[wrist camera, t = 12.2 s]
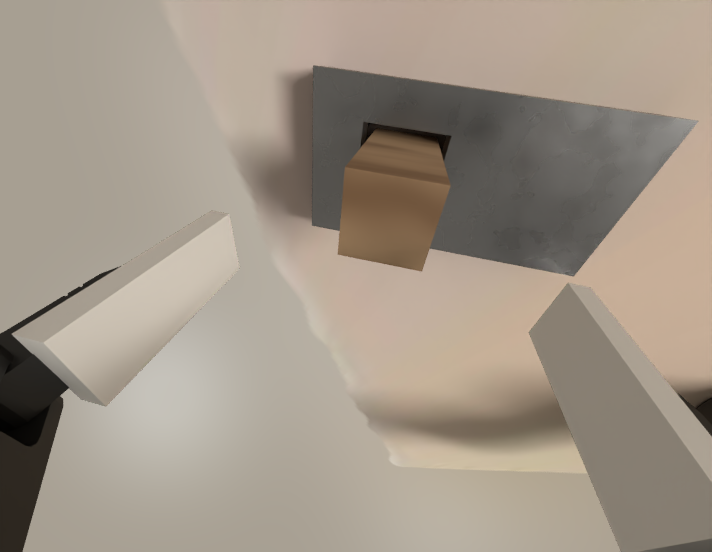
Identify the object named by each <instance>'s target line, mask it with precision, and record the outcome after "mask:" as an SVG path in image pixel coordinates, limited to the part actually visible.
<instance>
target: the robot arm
mask: <svg viewBox="0 0 712 552" xmlns="http://www.w3.org/2000/svg"><path fill="white" fill-rule="evenodd" d="M239 269H240V267H239V261H238V256H237V251H236V246H235V241H234V236H233V231H232V226H231V221H230V216H229V214H227V213H222V212H217V211H210V212H208V213H207V214H205V215H203V216H202V217H200V218H199V219H197V220H195V221H194V222H192V223H190V224H189V225H187V226H186V227H184V228H182V229H181V230H179V231H177V232H176V233H174V234H173V235H171V236H169V237H168V238H166V239H165V240H163V241H161V242H160V243H158V244H156V245H155V246H153V247H152V248H150V249H148V250H147V251H145V252H144V253H142V254H140V255H139V256H137V257H135V258H134V259H132V260H131V261H129V262H127V263H126V264H124V265H123V266H120V267H117V268H115V269H112V270H109V271H107V272H104V273H102V274H99V275H98V276H96V277H94V278H93V279H91V280H89V281H88V282H86V283H85V284H83V286H82V287H78V288H76V289H74V290H73V291H71V292H69V293H68V296H63V297H61V298H59V299H58V300H56V301H54V302H53V303H51V304H49V305H48V306H46V307H45V308H43V309H41V310H40V311H38V312H36V313H35V314H33V315H31V316H30V317H28V318H26V319H25V320H23V321H21V322H20V323H18V324H16V325H15V326H13V327H11V328H10V329H8V330H6V331H5V332H3V333H1V334H0V552H22V551H23V548H24V544H25V540H26V537H27V533H28V530H29V526H30V523H31V519H32V515H33V512H34V508H35V505H36V501H37V498H38V494H39V491H40V487H41V484H42V480H43V476H44V473H45V469H46V466H47V462H48V459H49V455H50V452H51V448H52V444H53V441H54V437H55V433H56V430H57V427H58V423H59V419H60V415H61V412H62V409H63V398H61V397H60V395H61V394H62V393H64V392H65V391H66V390H67V389H68V388H70V390H72V391H73V392H74V393H75V394H76V395H77V396H78V397H79V398H80V399H82V400H85V401H88V402H92V403H95V404H99V405H102V406H107V405H108V404H109V403H110V402H111V401H112V400H113V399H114V398H115V397H116V396H117V395H118V394H119V393H120V391H121V390H122V389H123V388H124V387H125V386H126V385H127V384H128V383H129V382H130V381H131V380H132V379H133V378H134V377H135V376H136V375H137V374H138V373H139V372H140V371H141V370H142V369H143V368H144V367H145V366H146V365H147V364H148V363H149V362H150V361H151V359H152V358H153V357H155V355H156V354H157V353H158V352H159V351H160V350H161V349H162V348H163V347H164V346H165V345H166V344H167V343H168V342H169V341H170V340H171V339H172V338H173V337H174V336H175V335H176V334H177V333H178V332H179V331H180V330H181V329H182V328H183V327H184V325H186V324H187V322H188V321H189V320H190V319H191V318H192V317H193V316H194V315H195V314H196V313H197V312H198V311H199V310H200V309H201V308H202V307H203V306H204V305H205V304H206V303H207V302H208V301H209V300H210V299H211V298H212V297H213V295H215V294H216V292H218V291H219V289H220V288H221V287H222V286H223V285H224V284H225V283H226V282H227V281H228V280H229V279H230V278H231V277H232V276H233V275H234V274H235V273H236V272H237V271H238V270H239ZM529 335H530V337H531V339H532V342H533V344H534V346H535V349H536V351H537V354H538V356H539V358H540V361H541V363H542V365H543V368H544V370H545V373H546V375H547V377H548V380H549V382H550V384H551V387H552V389H553V392H554V394H555V396H556V399H557V401H558V403H559V406H560V408H561V411H562V413H563V415H564V418H565V420H566V422H567V425H568V427H569V430H570V432H571V434H572V437H573V439H574V441H575V444H576V446H577V449H578V451H579V453H580V456H581V458H582V460H583V463H584V465H585V468H586V470H587V472H588V475H589V477H590V479H591V482H592V484H593V487H594V489H595V491H596V494H597V496H598V498H599V501H600V503H601V506H602V508H603V510H604V513H605V515H606V517H607V520H608V522H609V524H610V527H611V529H612V532H613V534H614V536H615V539H616V541H617V543H618V546H619V548H620V551H621V552H712V399H710V400H709V401H707V402H705V403H703V404H702V405H700V406H699V407H698V408H697V409H695V408H694V407H693V406H692V405H691V404H690V403H689V402H687V401H686V400H685V399H684V398H683V397H682V396H680V395H679V394H677V393H676V392H675V391H674V390H673V388H672V387H671V386H670V385H669V383H668V382H667V381H666V380H665V378H664V377H663V376H662V375H661V374H660V372H659V371H658V370H657V369H656V367H655V366H654V365H653V364H652V362H651V361H650V360H649V359H648V358H647V356H646V355H645V354H644V353H643V351H642V350H641V349H640V348H639V346H638V345H637V344H636V343H635V342H634V340H633V339H632V338H631V337H630V335H629V334H628V333H627V332H626V330H625V329H624V328H623V327H622V326H621V324H620V323H619V322H618V321H617V319H616V318H615V317H614V316H613V314H612V313H611V312H610V311H609V310H608V308H607V307H606V306H605V305H604V303H603V302H602V301H601V300H600V298H599V297H598V296H597V295H596V294H595V292H594V291H593V290H592V289H591V287H586V286H581V285H577V284H572V283H568V284H567V285H566V286H565V287H564V289H563V290H562V291H561V292H560V294H559V295H558V296H557V297H556V299H555V300H554V301H553V302H552V304H551V305H550V306H549V307H548V309H547V310H546V311H545V313H544V314H543V315H542V316H541V318H540V319H539V320H538V321H537V323H536V324H535V325H534V326H533V328H532V329H531V330H530V331H529Z"/></svg>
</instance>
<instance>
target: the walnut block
mask: <svg viewBox="0 0 712 552" xmlns="http://www.w3.org/2000/svg"><path fill="white" fill-rule="evenodd" d="M450 186H451V185H450V181H449V178H448V175H447V171H446V168H445V164H444V161H443V157H442V154H441V150H440V147H439V143H438V140H437V138H436V137H430V136H424V135H418V134H412V133H405V132H399V131H393V130H387V129H380V128H376V129H375V131H374V132H373V133H372V134H371V136H370V137H369V138H368V139H367V141H366V142H365V143H364V144H363V145H362V147H361V148H360V149H359V150H358V152H357V153H356V154H355V155H354V157H353V158H352V159H351V160H350V162H349V163H348V164H347V165H346V167H345V172H344V185H343V197H342V209H341V221H340V234H339V246H338V255H343V256H348V257H353V258H358V259H363V260H368V261H373V262H378V263H383V264H388V265H393V266H398V267H403V268H408V269H413V270H418V271H422V269H423V266H424V263H425V260H426V257H427V254H428V251H429V248H430V246H431V243H432V240H433V237H434V234H435V231H436V228H437V225H438V222H439V219H440V216H441V213H442V210H443V207H444V204H445V201H446V198H447V195H448V192H449V189H450Z"/></svg>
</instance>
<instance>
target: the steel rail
mask: <svg viewBox="0 0 712 552" xmlns="http://www.w3.org/2000/svg"><path fill="white" fill-rule="evenodd" d="M697 122H698V121H696V120H689V119H683V118H677V117H671V116H665V115H658V114H651V113H644V112H637V111H630V110H623V109H616V108H609V107H602V106H596V105H589V104H582V103H575V102H568V101H561V100H554V99H547V98H540V97H533V96H526V95H519V94H512V93H505V92H498V91H491V90H484V89H477V88H470V87H463V86H457V85H450V84H443V83H436V82H429V81H422V80H415V79H408V78H401V77H394V76H387V75H380V74H373V73H366V72H359V71H352V70H345V69H338V68H331V67H324V66H314V65H313V165H312V226H317V227H323V228H328V229H333V230H338V231H340V221H341V209H342V197H343V185H344V172H345V167H346V165H347V164H348V163H349V162H350V160H351V159H352V158H353V157H354V155H355V154H356V153H357V152H358V150H359V149H360V148H361V147H362V145H363V144H364V143H365V142H366V140H367V131H368V123H374V124H380V125H386V126H393V127H399V128H405V129H412V130H418V131H424V132H430V133H437V134H443V135H446V138H445V141H444V145H443V148H442V151H441V154H442V157H443V161H444V164H445V168H446V171H447V175H448V178H449V181H450V185H451V186H450V189H449V192H448V195H447V198H446V201H445V204H444V207H443V210H442V213H441V216H440V219H439V222H438V225H437V228H436V231H435V234H434V237H433V240H432V243H431V246H430V248H431V249H436V250H441V251H446V252H451V253H456V254H461V255H467V256H472V257H477V258H482V259H487V260H492V261H497V262H503V263H508V264H513V265H518V266H523V267H528V268H533V269H539V270H544V271H549V272H554V273H559V274H564V275H569V276H574V275H575V274H576V273H577V272H578V270H579V269H580V268H581V267H582V265H583V264H584V263H585V262H586V260H587V259H588V258H589V257H590V255H591V254H592V253H593V252H594V250H595V249H596V248H597V247H598V245H599V244H600V243H601V242H602V240H603V239H604V238H605V237H606V235H607V234H608V233H609V232H610V231H611V229H612V228H613V227H614V226H615V224H616V223H617V222H618V221H619V219H620V218H621V217H622V216H623V214H624V213H625V212H626V211H627V209H628V208H629V207H630V206H631V204H632V203H633V202H634V201H635V199H636V198H637V197H638V196H639V195H640V193H641V192H642V191H643V190H644V188H645V187H646V186H647V185H648V183H649V182H650V181H651V180H652V178H653V177H654V176H655V175H656V173H657V172H658V171H659V170H660V168H661V167H662V166H663V165H664V163H665V162H666V161H667V160H668V159H669V157H670V156H671V155H672V154H673V152H674V151H675V150H676V149H677V147H678V146H679V145H680V144H681V142H682V141H683V140H684V139H685V137H686V136H687V135H688V134H689V132H690V131H691V130H692V129H693V127H694V126H695V125H696V124H697Z"/></svg>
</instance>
